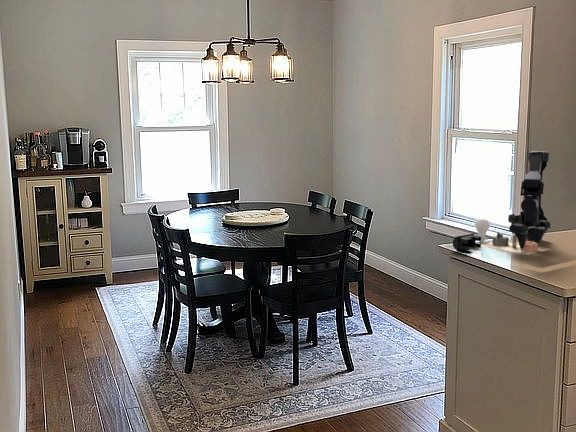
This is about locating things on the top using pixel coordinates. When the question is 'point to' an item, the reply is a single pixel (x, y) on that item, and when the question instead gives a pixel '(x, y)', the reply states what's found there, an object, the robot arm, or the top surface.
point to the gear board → (509, 245)
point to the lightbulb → (482, 227)
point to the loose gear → (530, 246)
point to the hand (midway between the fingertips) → (528, 247)
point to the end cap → (466, 243)
